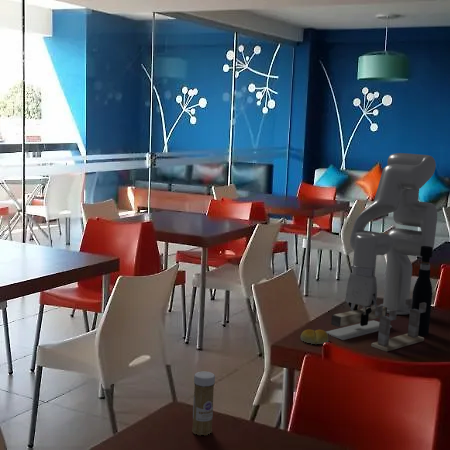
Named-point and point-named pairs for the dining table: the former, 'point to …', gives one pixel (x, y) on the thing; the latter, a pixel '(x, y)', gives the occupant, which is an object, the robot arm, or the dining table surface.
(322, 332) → the bread roll
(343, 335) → the mat
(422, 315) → the wine bottle
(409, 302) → the rack
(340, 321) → the rail
